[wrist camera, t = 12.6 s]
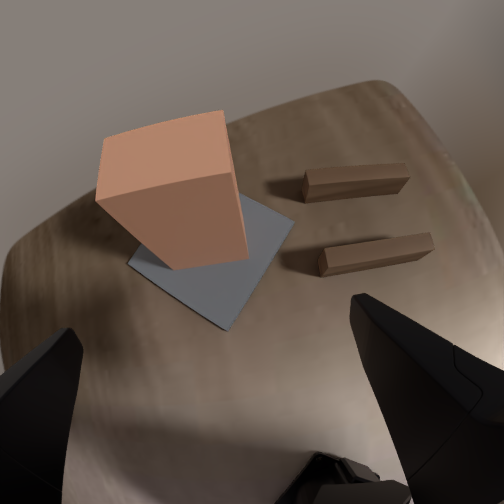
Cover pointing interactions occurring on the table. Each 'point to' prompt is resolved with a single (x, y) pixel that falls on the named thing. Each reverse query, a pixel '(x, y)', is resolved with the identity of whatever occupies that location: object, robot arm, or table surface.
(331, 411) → the table surface
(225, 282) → the slate mat
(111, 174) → the thick orange-brown block
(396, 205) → the table surface
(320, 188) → the slot holder
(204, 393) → the table surface
